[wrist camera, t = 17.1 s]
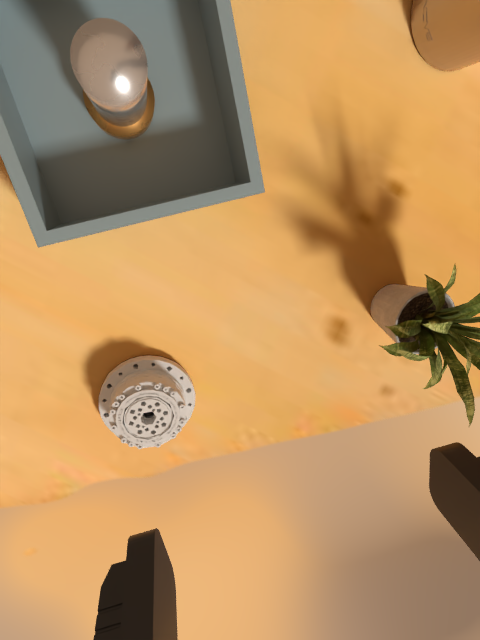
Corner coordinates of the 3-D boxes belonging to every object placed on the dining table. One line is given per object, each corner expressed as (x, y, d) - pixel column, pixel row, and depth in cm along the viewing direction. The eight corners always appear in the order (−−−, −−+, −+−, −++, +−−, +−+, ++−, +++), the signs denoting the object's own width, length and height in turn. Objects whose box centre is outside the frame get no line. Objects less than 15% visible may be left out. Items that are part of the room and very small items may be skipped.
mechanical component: (128, 338, 40) (82, 415, 42) (126, 355, 36) (75, 440, 37) (210, 377, 43) (165, 447, 45) (217, 397, 39) (167, 473, 41)
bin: (199, -41, 31) (212, -95, 25) (245, 191, 38) (264, 192, 32) (-38, -5, 29) (-86, -56, 23) (56, 236, 35) (38, 247, 29)
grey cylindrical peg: (143, 63, 32) (143, -4, 21) (161, 132, 34) (169, 106, 22) (78, 74, 31) (42, 12, 20) (100, 145, 33) (77, 123, 22)
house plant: (403, 205, 42) (549, 216, 27) (468, 284, 47) (620, 330, 32) (314, 305, 43) (405, 369, 28) (387, 371, 49) (496, 454, 33)
